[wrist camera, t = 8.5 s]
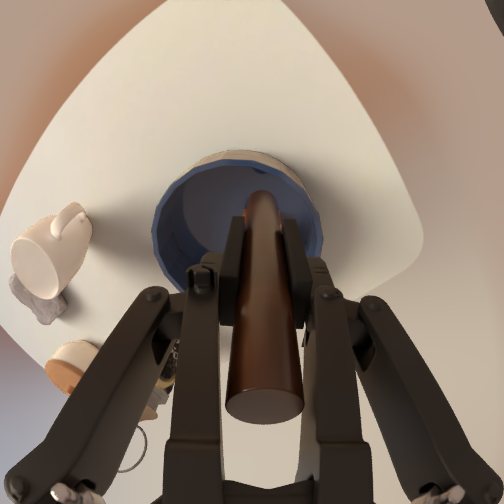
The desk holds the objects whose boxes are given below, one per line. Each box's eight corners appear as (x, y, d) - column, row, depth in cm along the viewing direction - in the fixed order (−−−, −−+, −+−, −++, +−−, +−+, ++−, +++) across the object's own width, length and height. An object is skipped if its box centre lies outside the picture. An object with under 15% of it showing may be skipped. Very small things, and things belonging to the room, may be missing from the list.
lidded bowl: (54, 330, 45) (29, 369, 36) (94, 328, 44) (69, 373, 34) (85, 371, 51) (68, 408, 42) (127, 372, 49) (111, 416, 40)
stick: (277, 190, 23) (312, 388, 7) (275, 217, 24) (297, 424, 8) (248, 188, 23) (223, 386, 7) (246, 216, 24) (225, 423, 8)
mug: (89, 263, 37) (49, 311, 27) (52, 227, 34) (4, 266, 24) (129, 207, 33) (82, 252, 23) (85, 165, 30) (26, 195, 20)
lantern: (176, 295, 39) (119, 463, 17) (202, 334, 42) (171, 489, 21) (131, 309, 41) (66, 451, 19) (158, 343, 44) (116, 479, 22)
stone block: (36, 244, 38) (14, 274, 39) (23, 256, 33) (1, 287, 34) (79, 294, 43) (53, 318, 44) (70, 309, 38) (44, 333, 39)
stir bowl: (321, 155, 29) (334, 167, 24) (302, 286, 37) (308, 316, 32) (165, 149, 29) (145, 159, 24) (174, 278, 37) (162, 306, 32)
